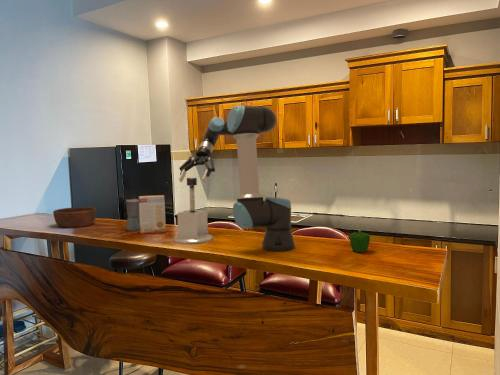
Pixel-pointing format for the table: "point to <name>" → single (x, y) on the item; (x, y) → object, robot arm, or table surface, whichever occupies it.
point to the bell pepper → (359, 241)
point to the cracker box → (152, 214)
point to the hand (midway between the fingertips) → (191, 180)
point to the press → (192, 228)
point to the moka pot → (132, 214)
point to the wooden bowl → (75, 217)
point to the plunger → (192, 192)
